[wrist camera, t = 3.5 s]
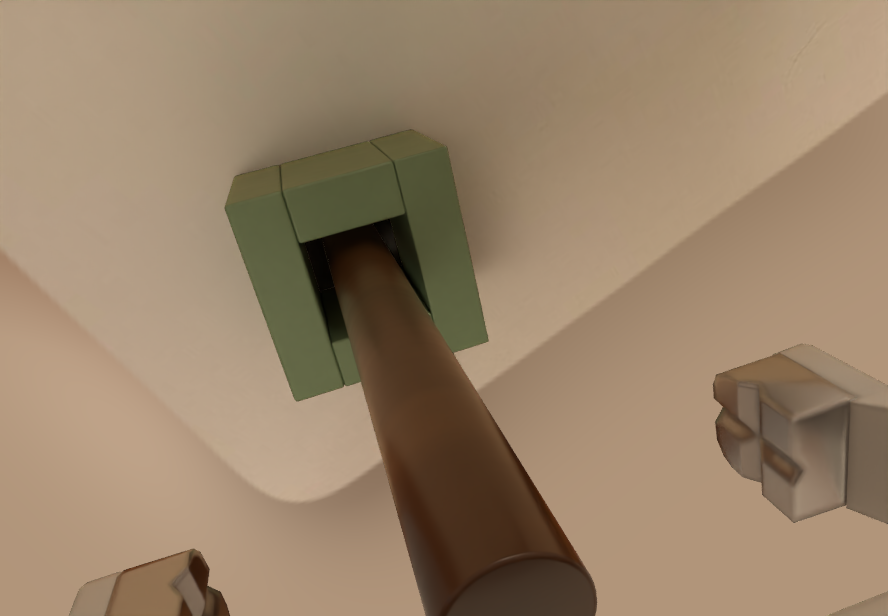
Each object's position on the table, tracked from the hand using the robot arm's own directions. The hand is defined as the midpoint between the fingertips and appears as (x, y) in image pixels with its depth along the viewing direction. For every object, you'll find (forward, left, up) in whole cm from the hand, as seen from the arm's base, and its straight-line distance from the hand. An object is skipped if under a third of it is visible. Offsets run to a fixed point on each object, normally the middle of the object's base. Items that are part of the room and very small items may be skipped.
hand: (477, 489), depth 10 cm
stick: (0, 0, -16) cm, 16 cm away
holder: (0, 0, -16) cm, 16 cm away
